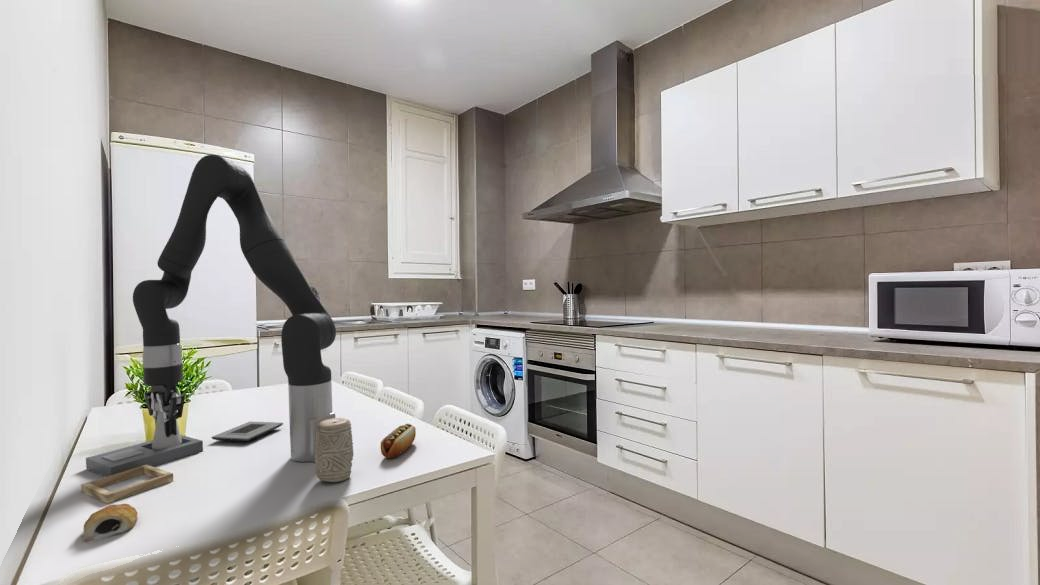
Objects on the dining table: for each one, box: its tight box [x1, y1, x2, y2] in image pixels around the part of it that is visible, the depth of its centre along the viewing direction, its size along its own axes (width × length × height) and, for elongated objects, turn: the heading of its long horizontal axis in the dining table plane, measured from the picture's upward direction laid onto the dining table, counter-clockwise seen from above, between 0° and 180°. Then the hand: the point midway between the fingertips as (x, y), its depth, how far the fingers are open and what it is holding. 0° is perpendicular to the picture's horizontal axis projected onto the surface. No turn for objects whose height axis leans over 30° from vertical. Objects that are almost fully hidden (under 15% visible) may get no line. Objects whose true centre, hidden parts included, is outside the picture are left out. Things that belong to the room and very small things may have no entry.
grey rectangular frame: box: [85, 434, 204, 477], centre depth 110 cm, size 12×18×3 cm, turn 151°
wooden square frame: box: [80, 465, 174, 504], centre depth 96 cm, size 11×11×2 cm
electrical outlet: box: [211, 421, 284, 442], centre depth 126 cm, size 13×10×2 cm
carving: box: [314, 417, 355, 483], centre depth 97 cm, size 6×8×12 cm
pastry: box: [81, 503, 138, 542], centre depth 80 cm, size 9×7×4 cm
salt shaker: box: [152, 401, 182, 451], centre depth 113 cm, size 6×6×13 cm
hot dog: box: [380, 423, 417, 459], centre depth 112 cm, size 5×13×5 cm, turn 171°
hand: (166, 434), depth 113 cm, fingers open, 3 cm apart
